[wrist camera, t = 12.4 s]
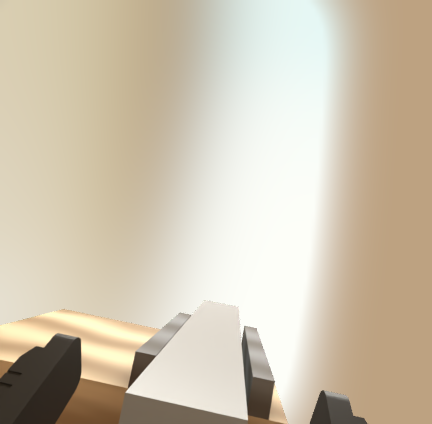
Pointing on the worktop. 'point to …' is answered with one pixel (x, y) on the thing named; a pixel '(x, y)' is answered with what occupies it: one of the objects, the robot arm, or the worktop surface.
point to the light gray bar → (194, 374)
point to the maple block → (127, 362)
